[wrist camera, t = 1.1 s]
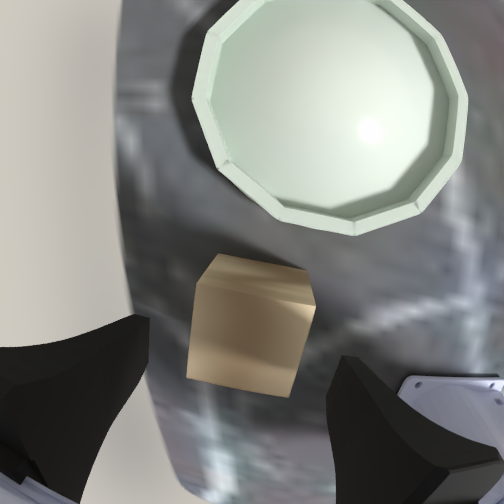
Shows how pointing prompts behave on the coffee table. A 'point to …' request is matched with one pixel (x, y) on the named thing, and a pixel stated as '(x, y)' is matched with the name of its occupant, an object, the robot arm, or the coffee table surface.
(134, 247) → the coffee table surface
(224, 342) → the birch block
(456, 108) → the celadon dish
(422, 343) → the coffee table surface
